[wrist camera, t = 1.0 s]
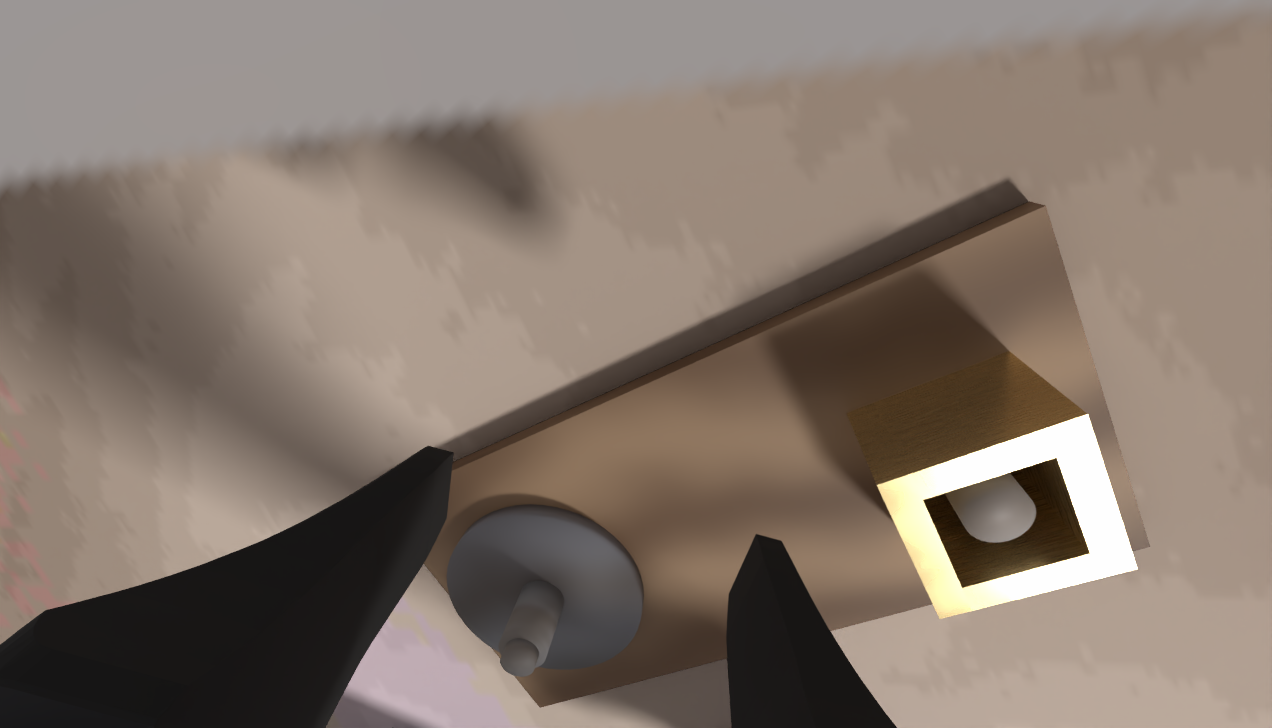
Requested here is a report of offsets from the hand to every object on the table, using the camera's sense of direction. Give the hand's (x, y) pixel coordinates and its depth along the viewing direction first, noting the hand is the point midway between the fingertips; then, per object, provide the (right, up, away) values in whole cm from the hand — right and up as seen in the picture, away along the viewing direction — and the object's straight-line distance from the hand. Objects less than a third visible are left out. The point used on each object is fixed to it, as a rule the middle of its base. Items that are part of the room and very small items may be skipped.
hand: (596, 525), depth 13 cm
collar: (+12, +1, +7) cm, 15 cm away
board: (+5, -3, +11) cm, 12 cm away
